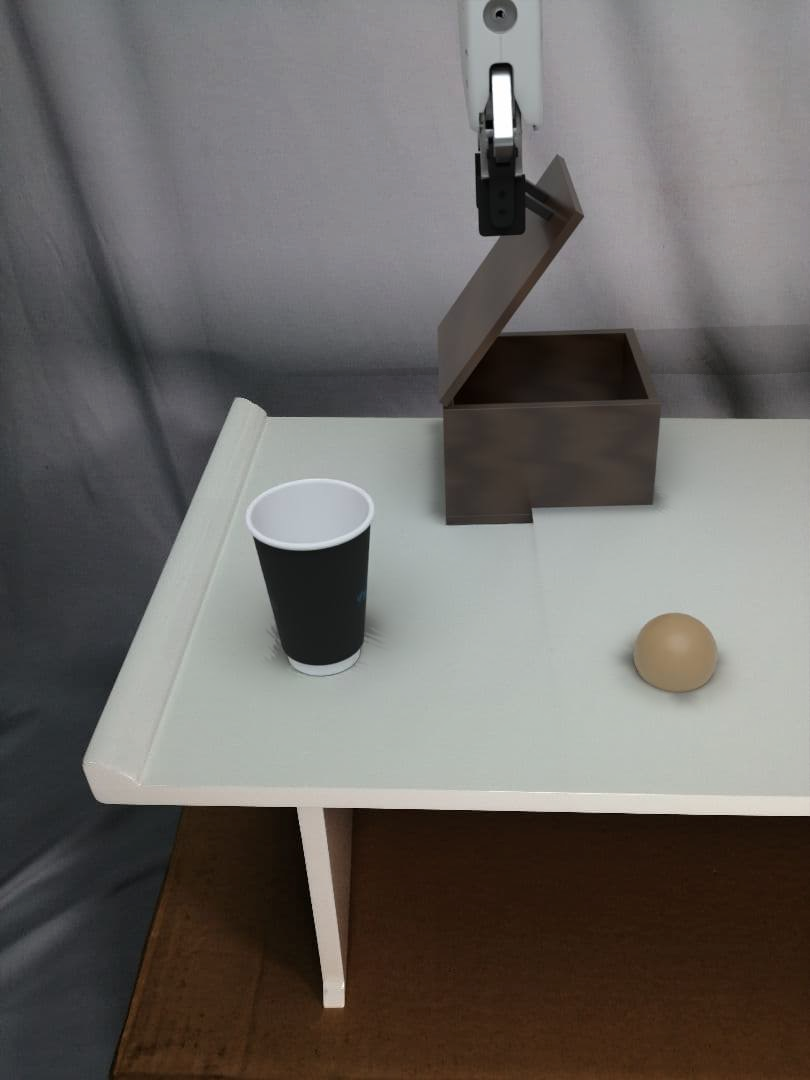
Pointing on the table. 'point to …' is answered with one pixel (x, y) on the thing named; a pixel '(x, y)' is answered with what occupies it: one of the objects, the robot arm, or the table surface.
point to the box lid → (506, 277)
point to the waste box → (551, 427)
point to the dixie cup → (315, 568)
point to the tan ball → (675, 652)
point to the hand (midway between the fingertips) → (500, 218)
